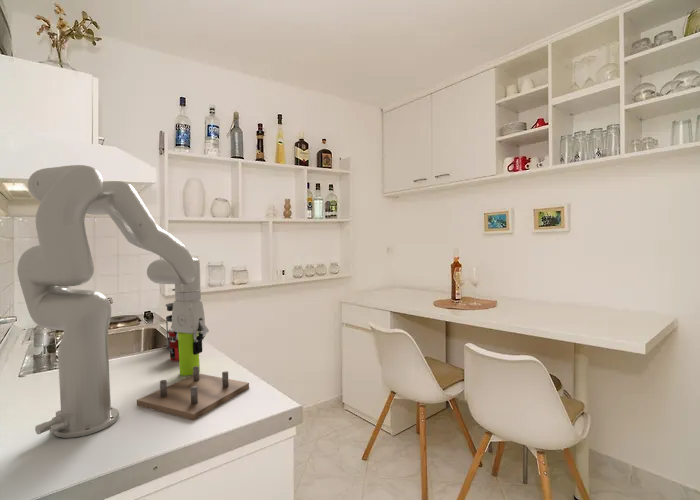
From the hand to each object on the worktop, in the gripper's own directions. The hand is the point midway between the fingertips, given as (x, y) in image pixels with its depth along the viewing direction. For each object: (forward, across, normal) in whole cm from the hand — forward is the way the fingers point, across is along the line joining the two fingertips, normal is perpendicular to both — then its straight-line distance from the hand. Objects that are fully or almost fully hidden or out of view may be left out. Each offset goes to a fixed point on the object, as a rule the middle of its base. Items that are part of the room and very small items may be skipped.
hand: (190, 351), depth 120 cm
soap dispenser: (+7, 0, 0) cm, 7 cm away
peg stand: (+7, +16, -13) cm, 22 cm away
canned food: (+7, -14, +9) cm, 18 cm away
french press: (+7, -28, +20) cm, 35 cm away
